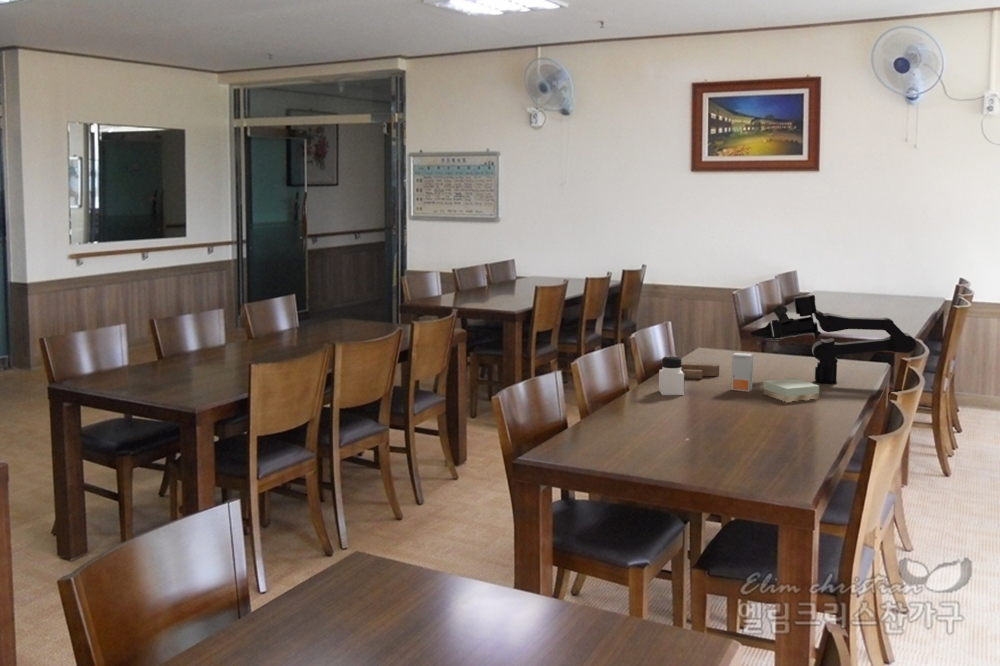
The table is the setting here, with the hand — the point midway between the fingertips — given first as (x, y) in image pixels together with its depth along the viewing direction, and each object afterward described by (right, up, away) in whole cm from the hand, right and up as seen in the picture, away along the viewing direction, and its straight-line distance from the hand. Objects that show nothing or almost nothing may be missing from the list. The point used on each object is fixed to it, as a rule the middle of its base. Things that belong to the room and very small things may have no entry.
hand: (750, 334), depth 322 cm
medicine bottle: (-30, -19, -17) cm, 40 cm away
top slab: (+6, -18, -25) cm, 31 cm away
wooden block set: (-19, -16, +4) cm, 25 cm away
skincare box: (-7, -18, -14) cm, 24 cm away
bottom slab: (+6, -20, -24) cm, 32 cm away
